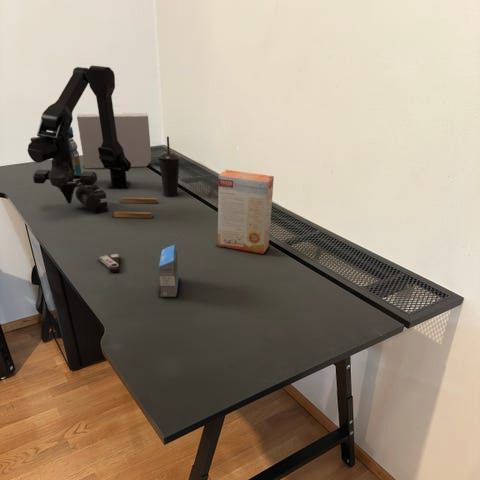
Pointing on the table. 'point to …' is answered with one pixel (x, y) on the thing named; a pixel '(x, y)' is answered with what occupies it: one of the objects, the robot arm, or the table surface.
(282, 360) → the table surface
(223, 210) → the cracker box
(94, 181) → the robot arm
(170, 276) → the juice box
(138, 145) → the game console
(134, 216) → the brown flat block
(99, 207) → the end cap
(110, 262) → the usb flash drive
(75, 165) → the beverage bottle
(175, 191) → the drinking cup
